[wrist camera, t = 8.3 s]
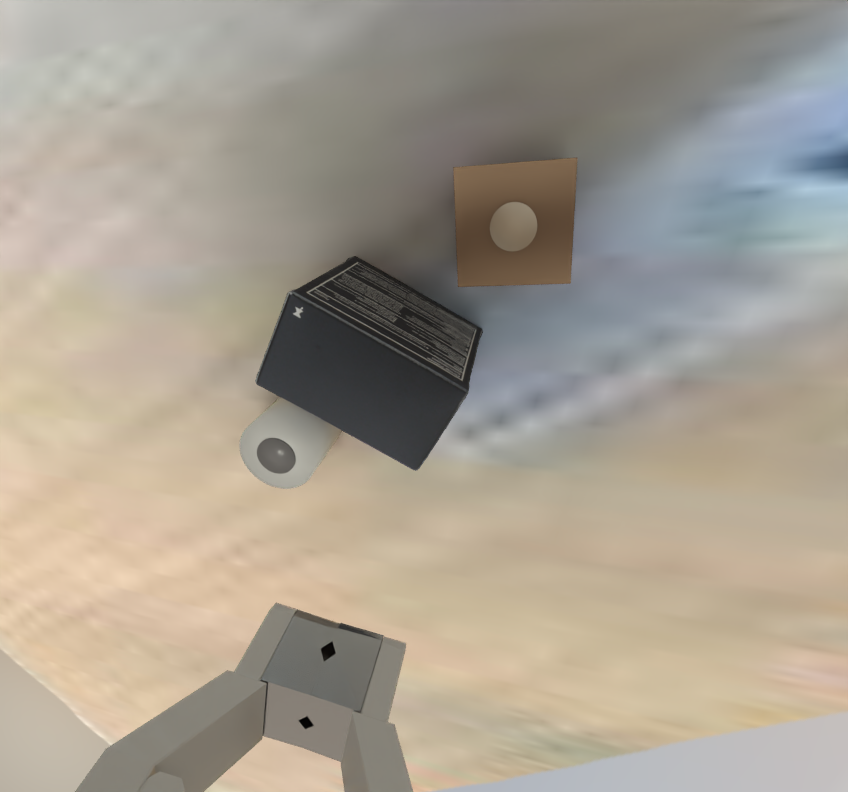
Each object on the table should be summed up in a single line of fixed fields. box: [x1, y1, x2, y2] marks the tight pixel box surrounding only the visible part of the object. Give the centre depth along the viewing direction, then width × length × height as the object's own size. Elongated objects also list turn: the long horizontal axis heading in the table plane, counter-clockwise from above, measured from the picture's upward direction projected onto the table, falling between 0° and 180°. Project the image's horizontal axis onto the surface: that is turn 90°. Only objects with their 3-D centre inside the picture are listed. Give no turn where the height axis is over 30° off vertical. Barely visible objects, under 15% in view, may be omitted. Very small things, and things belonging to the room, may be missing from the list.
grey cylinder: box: [240, 397, 342, 489], centre depth 36 cm, size 6×6×6 cm
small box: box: [255, 256, 483, 471], centre depth 30 cm, size 11×6×10 cm, turn 62°
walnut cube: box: [453, 158, 577, 287], centre depth 27 cm, size 6×6×6 cm
